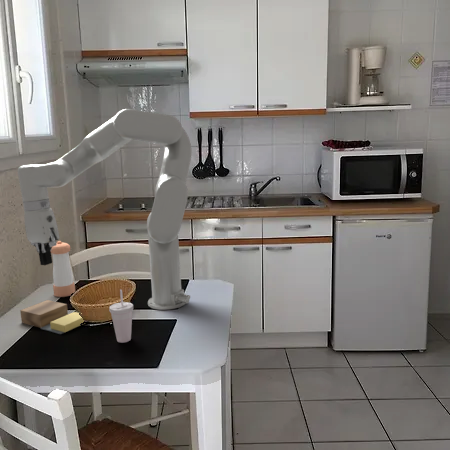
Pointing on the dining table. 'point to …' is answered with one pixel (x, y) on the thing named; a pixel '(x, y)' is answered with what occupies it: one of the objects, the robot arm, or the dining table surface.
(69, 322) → the pale yellow block
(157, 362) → the dining table surface
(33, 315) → the block
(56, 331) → the mat
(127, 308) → the smoothie
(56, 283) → the pepper shaker
